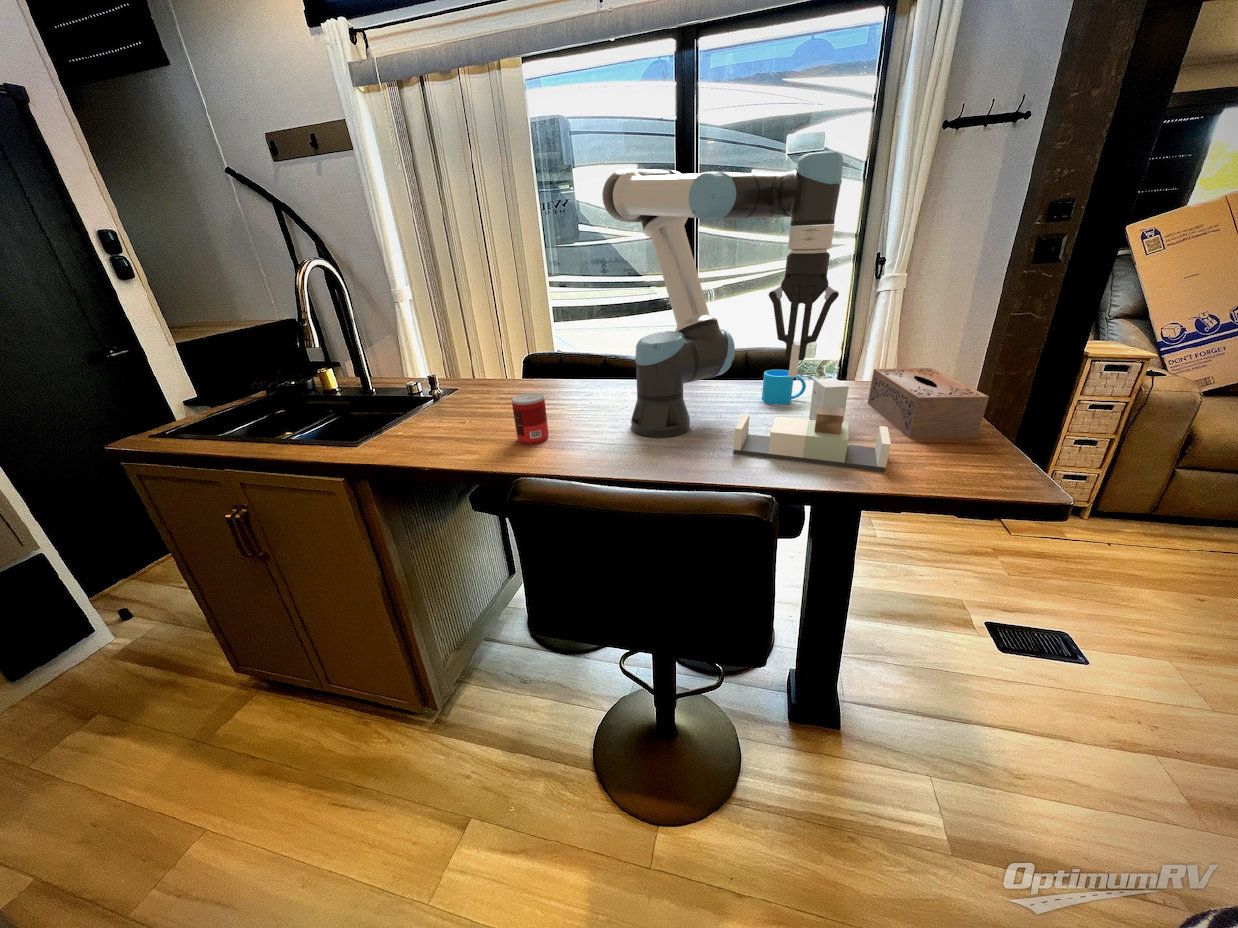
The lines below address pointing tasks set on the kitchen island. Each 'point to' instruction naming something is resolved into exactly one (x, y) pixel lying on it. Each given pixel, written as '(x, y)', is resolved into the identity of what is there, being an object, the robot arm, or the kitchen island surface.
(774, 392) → the mug
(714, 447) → the kitchen island surface
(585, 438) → the kitchen island surface
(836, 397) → the small box
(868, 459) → the board
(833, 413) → the walnut block
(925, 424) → the tissue box cover
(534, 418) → the canned food
